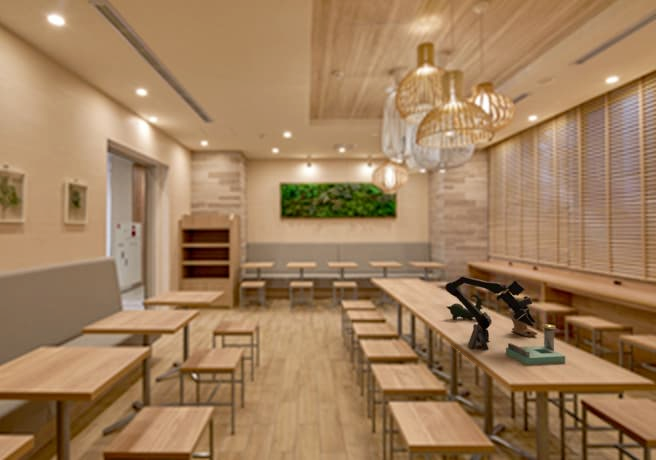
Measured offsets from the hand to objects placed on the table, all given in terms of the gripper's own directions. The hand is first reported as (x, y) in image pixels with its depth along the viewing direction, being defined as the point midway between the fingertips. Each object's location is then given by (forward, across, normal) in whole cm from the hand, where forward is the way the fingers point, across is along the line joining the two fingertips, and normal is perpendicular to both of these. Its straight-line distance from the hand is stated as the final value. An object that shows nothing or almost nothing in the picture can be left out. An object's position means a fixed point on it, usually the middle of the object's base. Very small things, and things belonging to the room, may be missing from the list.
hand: (533, 324), depth 204 cm
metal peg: (+14, 0, +4) cm, 15 cm away
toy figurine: (-24, +48, +42) cm, 69 cm away
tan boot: (+3, +29, +16) cm, 33 cm away
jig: (+10, -17, +8) cm, 21 cm away
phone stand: (-9, -15, +27) cm, 32 cm away
